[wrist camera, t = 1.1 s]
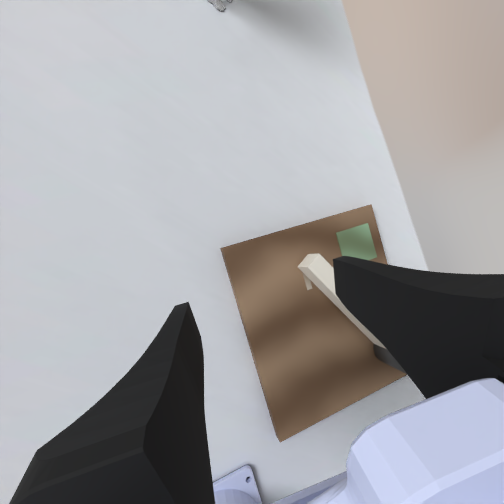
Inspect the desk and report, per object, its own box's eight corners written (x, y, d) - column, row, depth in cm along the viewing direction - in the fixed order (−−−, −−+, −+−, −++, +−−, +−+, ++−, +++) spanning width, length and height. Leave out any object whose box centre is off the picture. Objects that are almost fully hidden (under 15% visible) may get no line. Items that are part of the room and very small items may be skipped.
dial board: (408, 365, 28) (417, 370, 26) (276, 434, 23) (280, 443, 22) (364, 206, 27) (372, 204, 26) (220, 248, 23) (222, 247, 22)
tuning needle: (405, 343, 26) (432, 353, 23) (387, 368, 25) (414, 382, 22) (313, 247, 24) (331, 245, 21) (291, 273, 23) (307, 275, 20)
